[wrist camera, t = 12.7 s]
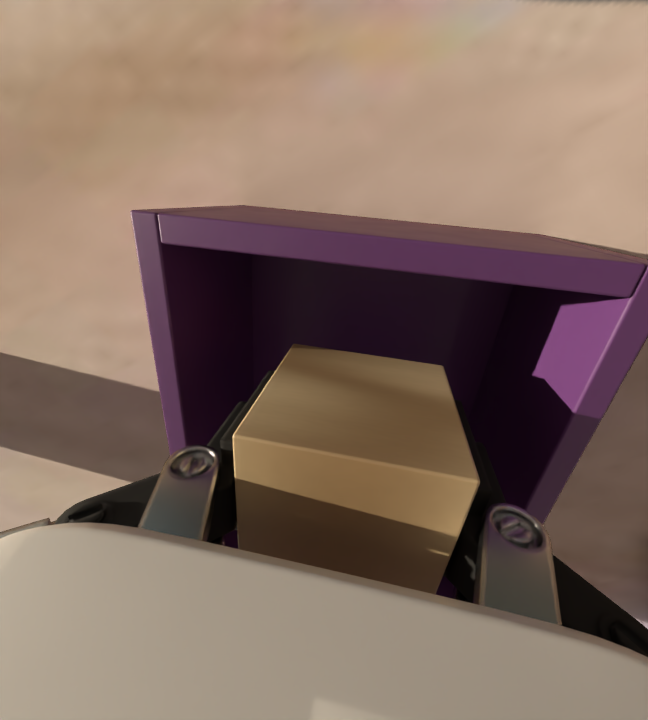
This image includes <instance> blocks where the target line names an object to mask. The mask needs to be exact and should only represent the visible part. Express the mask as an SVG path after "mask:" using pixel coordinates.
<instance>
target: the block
mask: <svg viewBox="0 0 648 720" xmlns="http://www.w3.org/2000/svg"><path fill="white" fill-rule="evenodd" d="M232 439H233V457H234V476H235V495H236V514H237V532H238V549H240V550H244V551H249V552H253V553H258V554H262V555H267V556H271V557H276V558H280V559H284V560H289V561H293V562H297V563H302V564H306V565H310V566H315V567H319V568H324V569H328V570H332V571H337V572H341V573H345V574H350V575H354V576H358V577H363V578H367V579H371V580H375V581H380V582H384V583H388V584H393V585H397V586H401V587H405V588H410V589H414V590H418V591H422V592H427V593H431V594H436V592H437V589H438V587H439V585H440V582H441V580H442V577H443V575H444V572H445V570H446V567H447V565H448V562H449V560H450V557H451V555H452V552H453V550H454V547H455V545H456V542H457V540H458V537H459V535H460V532H461V530H462V527H463V525H464V522H465V520H466V517H467V515H468V512H469V510H470V507H471V505H472V502H473V500H474V497H475V495H476V492H477V490H478V487H479V485H480V479H479V476H478V473H477V470H476V466H475V463H474V460H473V457H472V454H471V451H470V448H469V445H468V441H467V438H466V435H465V432H464V429H463V426H462V423H461V420H460V416H459V413H458V410H457V407H456V404H455V401H454V398H453V395H452V391H451V388H450V385H449V382H448V379H447V376H446V373H445V370H444V366H442V365H435V364H428V363H421V362H415V361H408V360H401V359H394V358H388V357H381V356H374V355H368V354H361V353H354V352H347V351H341V350H334V349H327V348H320V347H314V346H307V345H300V344H293V345H292V347H291V348H290V350H289V351H288V353H287V354H286V356H285V357H284V359H283V360H282V362H281V363H280V365H279V366H278V368H277V369H276V371H275V372H274V374H273V375H272V377H271V378H270V380H269V381H268V383H267V384H266V386H265V387H264V389H263V390H262V392H261V393H260V395H259V396H258V398H257V399H256V401H255V402H254V404H253V405H252V407H251V408H250V410H249V411H248V413H247V414H246V416H245V417H244V419H243V420H242V422H241V423H240V425H239V426H238V428H237V429H236V431H235V432H234V434H233V437H232Z"/></svg>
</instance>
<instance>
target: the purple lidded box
mask: <svg viewBox="0 0 648 720" xmlns="http://www.w3.org/2000/svg"><path fill="white" fill-rule="evenodd" d="M131 219H132V225H133V231H134V237H135V244H136V250H137V256H138V262H139V268H140V274H141V280H142V286H143V292H144V298H145V305H146V311H147V317H148V323H149V329H150V335H151V341H152V347H153V353H154V360H155V366H156V372H157V378H158V384H159V390H160V396H161V402H162V408H163V414H164V421H165V427H166V433H167V439H168V445H169V451H170V456H171V455H172V454H173V453H174V452H175V451H177V450H179V449H181V448H183V447H187V446H190V445H198V444H199V445H207V444H208V443H209V442H210V440H211V439H212V438H213V436H214V435H215V433H216V432H217V431H218V429H219V428H220V427H221V425H222V424H223V423H224V421H225V420H226V419H227V417H228V416H229V415H230V413H231V412H232V411H233V409H234V408H235V406H236V405H237V404H238V403H239V402H240V401H245V402H247V401H248V400H249V398H250V397H251V395H252V394H253V393H254V391H255V390H256V388H257V387H258V385H259V384H260V383H261V381H262V380H263V378H264V377H265V375H266V374H267V373H268V371H269V370H272V371H276V369H277V368H278V366H279V365H280V363H281V362H282V360H283V359H284V357H285V356H286V354H287V353H288V351H289V350H290V348H291V347H292V345H293V344H300V345H307V346H314V347H320V348H327V349H334V350H341V351H347V352H354V353H361V354H368V355H374V356H381V357H388V358H394V359H401V360H408V361H415V362H421V363H428V364H435V365H442V366H444V370H445V373H446V376H447V379H448V382H449V385H450V388H451V391H452V395H453V398H454V400H459V401H461V402H462V405H463V408H464V411H465V414H466V417H467V419H468V422H469V425H470V428H471V431H472V434H473V437H474V439H475V442H481V443H483V444H484V446H485V448H486V451H487V453H488V456H489V459H490V461H491V464H492V466H493V469H494V472H495V474H496V477H497V480H498V482H499V485H500V487H501V490H502V493H503V495H504V498H505V500H506V503H508V504H511V505H515V506H518V507H520V508H522V509H524V510H526V511H527V512H529V513H530V514H531V515H533V516H534V517H535V518H536V519H537V520H538V521H539V522H540V523H541V524H543V523H544V522H545V520H546V518H547V516H548V514H549V513H550V511H551V509H552V507H553V506H554V504H555V502H556V500H557V498H558V497H559V495H560V493H561V491H562V489H563V488H564V486H565V484H566V482H567V480H568V479H569V477H570V475H571V473H572V472H573V470H574V468H575V466H576V464H577V463H578V461H579V459H580V457H581V455H582V454H583V452H584V450H585V448H586V447H587V445H588V443H589V441H590V439H591V438H592V436H593V434H594V432H595V430H596V429H597V427H598V425H599V423H600V421H601V420H602V418H603V416H604V414H605V413H606V411H607V409H608V407H609V405H610V404H611V402H612V400H613V398H614V396H615V395H616V393H617V391H618V389H619V387H620V386H621V384H622V382H623V380H624V379H625V377H626V375H627V373H628V371H629V370H630V368H631V366H632V364H633V362H634V361H635V359H636V357H637V355H638V353H639V352H640V350H641V348H642V346H643V345H644V343H645V341H646V339H647V337H648V259H643V258H639V257H635V256H631V255H626V254H622V253H618V252H614V251H609V250H605V249H601V248H597V247H592V246H588V245H584V244H579V243H575V242H571V241H567V240H562V239H558V238H554V237H549V236H546V235H540V234H530V233H520V232H510V231H499V230H489V229H479V228H469V227H459V226H449V225H438V224H428V223H418V222H408V221H398V220H388V219H378V218H367V217H357V216H347V215H337V214H327V213H317V212H306V211H296V210H286V209H276V208H266V207H256V206H246V205H237V206H214V207H191V208H169V209H147V210H132V211H131ZM225 535H226V537H225V544H224V546H226V547H231V548H235V549H238V532H237V530H234V531H232V532H230V533H227V534H225ZM453 588H454V585H453V584H452V583H451V582H450V581H449V580H448V579H447V578H446V577H444V576H443V577H442V580H441V582H440V585H439V587H438V589H437V592H436V594H435V595H439V596H444V597H448V598H452V595H453Z"/></svg>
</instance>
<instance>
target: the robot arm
mask: <svg viewBox="0 0 648 720" xmlns="http://www.w3.org/2000/svg"><path fill="white" fill-rule="evenodd" d="M274 372H275V371H272V370H269V371H268V373H267V374H266V375H265V377H264V378H263V380H262V381H261V383H260V384H259V385H258V387H257V388H256V390H255V391H254V393H253V394H252V395H251V397H250V398H249V400H248V401H247V402H245V401H240V402H239V403H238V404H237V405H236V406H235V408H234V409H233V411H232V412H231V413H230V415H229V416H228V417H227V419H226V420H225V421H224V423H223V424H222V425H221V427H220V428H219V429H218V431H217V432H216V433H215V435H214V436H213V438H212V439H211V440H210V442H209V443H208V444H207V445H199V444H198V445H190V446H187V447H183V448H181V449H179V450H177V451H175V452H174V453H173V454H172V455H171V456H169V458H168V459H167V461H166V462H165V464H164V467H163V469H162V471H161V473H160V474H157V475H154V476H151V477H148V478H146V479H143V480H140V481H137V482H134V483H131V484H128V485H126V486H123V487H120V488H117V489H114V490H111V491H109V492H106V493H103V494H100V495H97V496H94V497H92V498H89V499H86V500H84V501H81V502H79V503H77V504H75V505H74V506H72V507H71V508H69V509H67V510H66V511H65V512H64V513H63V514H62V515H61V516H60V517H59V518H58V519H57V520H56V521H53V522H51V521H50V519H49V518H46V519H43V520H40V521H36V522H33V523H30V524H26V525H23V526H19V527H16V528H13V529H9V530H6V531H3V532H0V720H648V629H647V628H646V627H644V626H643V625H642V624H641V623H640V622H638V621H637V620H636V619H635V618H633V617H632V616H631V615H629V614H628V613H627V612H626V611H624V610H623V609H622V608H620V607H619V606H618V605H617V604H615V603H614V602H613V601H612V600H610V599H609V598H608V597H606V596H605V595H604V594H603V593H601V592H600V591H599V590H597V589H596V588H595V587H594V586H592V585H591V584H590V583H588V582H587V581H586V580H585V579H583V578H582V577H581V576H579V575H578V574H577V573H576V572H574V571H573V570H572V569H571V568H569V567H568V566H567V565H565V564H564V563H563V562H562V561H560V560H559V559H558V558H556V557H555V556H554V555H553V554H552V547H551V540H550V537H549V534H548V532H547V530H546V529H545V527H544V526H543V524H541V523H540V522H539V521H538V520H537V519H536V518H535V517H534V516H533V515H531V514H530V513H529V512H527V511H526V510H524V509H522V508H520V507H518V506H515V505H511V504H508V503H506V500H505V498H504V495H503V493H502V490H501V487H500V485H499V482H498V480H497V477H496V474H495V472H494V469H493V466H492V464H491V461H490V459H489V456H488V453H487V451H486V448H485V446H484V444H483V443H481V442H475V439H474V437H473V434H472V431H471V428H470V425H469V422H468V419H467V417H466V414H465V411H464V408H463V405H462V402H461V401H459V400H454V401H455V404H456V407H457V410H458V413H459V416H460V420H461V423H462V426H463V429H464V432H465V435H466V438H467V441H468V445H469V448H470V451H471V454H472V457H473V460H474V463H475V466H476V470H477V473H478V476H479V479H480V485H479V487H478V490H477V492H476V495H475V497H474V500H473V502H472V505H471V507H470V510H469V512H468V515H467V517H466V520H465V522H464V525H463V527H462V530H461V532H460V535H459V537H458V540H457V542H456V545H455V547H454V550H453V552H452V555H451V557H450V560H449V562H448V565H447V567H446V570H445V572H444V575H443V576H444V577H446V578H447V579H448V580H449V581H450V582H451V583H452V584H453V585H454V588H453V595H452V598H448V597H444V596H439V595H435V594H431V593H427V592H422V591H418V590H414V589H410V588H405V587H401V586H397V585H393V584H388V583H384V582H380V581H375V580H371V579H367V578H363V577H358V576H354V575H350V574H345V573H341V572H337V571H332V570H328V569H324V568H319V567H315V566H310V565H306V564H302V563H297V562H293V561H289V560H284V559H280V558H276V557H271V556H267V555H262V554H258V553H253V552H249V551H244V550H240V549H235V548H231V547H226V546H224V544H225V537H226V535H225V534H227V533H230V532H232V531H234V530H237V514H236V495H235V476H234V457H233V439H232V437H233V434H234V432H235V431H236V429H237V428H238V426H239V425H240V423H241V422H242V420H243V419H244V417H245V416H246V414H247V413H248V411H249V410H250V408H251V407H252V405H253V404H254V402H255V401H256V399H257V398H258V396H259V395H260V393H261V392H262V390H263V389H264V387H265V386H266V384H267V383H268V381H269V380H270V378H271V377H272V375H273V374H274Z"/></svg>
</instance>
